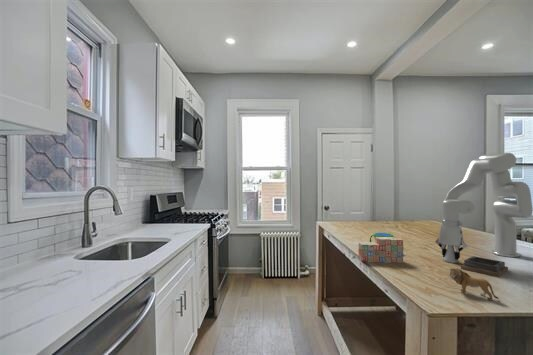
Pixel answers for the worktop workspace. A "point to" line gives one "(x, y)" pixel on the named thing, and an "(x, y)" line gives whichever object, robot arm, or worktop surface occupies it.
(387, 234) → the snack cup
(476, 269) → the board
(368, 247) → the stack of blocks
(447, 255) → the flask
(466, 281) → the lion figurine
